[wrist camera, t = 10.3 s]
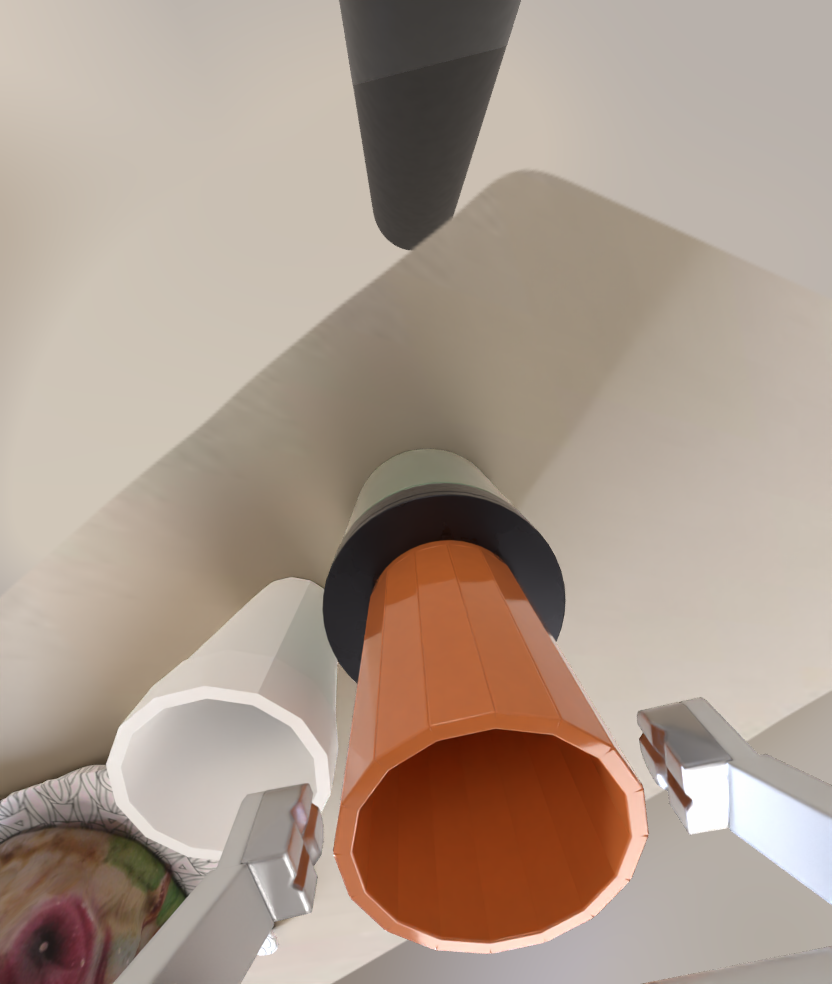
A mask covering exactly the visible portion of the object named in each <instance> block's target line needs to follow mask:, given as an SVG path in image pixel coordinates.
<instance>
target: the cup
mask: <svg viewBox="0 0 832 984" xmlns="http://www.w3.org/2000/svg"><path fill="white" fill-rule="evenodd" d="M648 834H649V831H648V822H647V813H646V804H645V796H644V788H643V786H642V783H641V782H640V780H639V778H638V777H637V775H636V773H635V772H634V770H633V769H632V767H631V765H630V764H629V762H628V760H627V759H626V757H625V755H624V754H623V752H622V750H621V749H620V747H619V745H618V744H617V742H616V740H615V739H614V737H613V735H612V734H611V732H610V730H609V729H608V727H607V725H606V724H605V722H604V720H603V719H602V717H601V716H600V714H599V712H598V711H597V709H596V707H595V706H594V704H593V702H592V701H591V699H590V697H589V696H588V694H587V692H586V691H585V689H584V687H583V686H582V684H581V682H580V681H579V679H578V677H577V676H576V674H575V672H574V671H573V669H572V667H571V666H570V664H569V663H568V661H567V659H566V658H565V656H564V654H563V653H562V651H561V649H560V648H559V646H558V644H557V643H556V641H555V639H554V638H553V636H552V634H551V633H550V631H549V629H548V628H547V626H546V624H545V623H544V621H543V619H542V618H541V616H540V614H539V613H538V611H537V610H536V608H535V606H534V605H533V603H532V601H531V600H530V598H529V596H528V595H527V593H526V591H525V590H524V588H523V587H522V585H521V584H520V582H519V581H518V580H517V578H516V577H515V575H514V573H513V572H512V570H511V569H510V568H509V567H508V565H507V564H506V563H505V562H504V561H503V560H502V559H500V558H499V557H498V556H497V555H495V554H494V553H492V552H491V551H489V550H487V549H485V548H483V547H481V546H478V545H475V544H472V543H468V542H463V541H454V540H444V541H435V542H429V543H426V544H423V545H419V546H417V547H415V548H412V549H410V550H408V551H407V552H405V553H403V554H402V555H400V556H399V557H397V558H396V559H395V560H394V561H392V562H391V563H390V564H389V565H388V566H387V567H386V568H385V570H384V571H383V572H382V574H381V575H380V576H379V578H378V580H377V582H376V584H375V585H374V588H373V591H372V593H371V596H370V601H369V607H368V614H367V620H366V627H365V634H364V641H363V648H362V654H361V661H360V668H359V675H358V682H357V689H356V696H355V703H354V710H353V716H352V723H351V730H350V737H349V744H348V751H347V758H346V765H345V772H344V779H343V785H342V792H341V799H340V806H339V813H338V820H337V827H336V834H335V841H334V848H333V852H334V857H335V860H336V863H337V865H338V868H339V870H340V873H341V876H342V878H343V881H344V884H345V886H346V889H347V892H348V894H349V896H350V898H351V899H352V900H353V901H354V902H355V903H356V904H357V905H358V906H359V907H360V908H361V909H362V910H364V911H365V912H366V913H367V914H368V915H369V916H370V917H371V918H372V919H373V920H374V921H375V922H377V923H378V924H379V925H380V926H381V927H382V928H383V929H384V930H386V931H387V932H390V933H392V934H395V935H397V936H400V937H403V938H405V939H408V940H410V941H413V942H415V943H418V944H420V945H423V946H426V947H428V948H431V949H436V950H440V951H455V952H467V953H481V954H489V953H491V954H493V953H498V952H503V951H508V950H512V949H518V948H523V947H527V946H532V945H537V944H542V943H544V942H548V941H550V940H552V939H554V938H556V937H558V936H560V935H561V934H563V933H565V932H567V931H569V930H571V929H573V928H575V927H577V926H579V925H581V924H583V923H585V922H586V921H589V920H590V919H592V918H593V917H594V916H596V915H597V914H598V913H599V912H600V911H601V910H602V909H603V908H604V907H605V906H606V905H607V904H608V903H609V902H610V901H611V900H612V899H613V898H614V897H615V896H616V895H617V894H618V893H619V892H620V891H621V890H622V889H623V888H624V887H625V886H626V885H627V884H628V883H629V882H630V879H632V877H633V874H634V872H635V869H636V866H637V864H638V861H639V859H640V856H641V854H642V851H643V849H644V846H645V844H646V841H647V838H648Z"/></svg>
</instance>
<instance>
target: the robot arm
mask: <svg viewBox="0 0 832 984" xmlns="http://www.w3.org/2000/svg"><path fill="white" fill-rule="evenodd" d="M637 723H638V725H639V727H640V728H641V730H642V731H643V734H642V735H641V737H640V738H639V741H640V748H641V752H642V755H643V758H644V761H645V764H646V766H647V768H648V770H649V772H650V774H651V775H652V777H653V779H654V780H655V782H656V783H657V785H659V786H661V787H662V788H664V789H665V790H667V791H668V796H669V804H670V806H671V807H672V809H673V810H674V812H675V813H676V815H677V816H678V818H679V820H680V821H681V823H682V824H683V826H684V827H685V829H686V830H687V832H688V834H695V833H701V832H706V831H712V830H718V829H724V828H730V831H732V832H734V833H735V834H736V835H737V836H739V837H740V838H741V839H743V840H744V841H745V842H747V843H748V844H750V845H751V846H752V847H754V848H755V849H756V850H758V851H759V852H760V853H762V854H763V855H764V856H766V857H767V858H768V859H770V860H771V861H773V862H774V863H775V864H777V865H778V866H779V867H781V868H782V869H784V870H785V871H786V872H787V873H789V874H790V875H792V876H793V877H794V878H796V879H797V880H799V881H800V882H801V883H803V884H804V885H805V886H807V887H808V888H809V889H811V890H812V891H813V892H815V893H816V894H817V895H819V896H820V897H821V898H823V899H824V900H826V901H827V902H828V903H830V904H831V905H832V785H830V784H828V783H826V782H824V781H822V780H820V779H818V778H816V777H814V776H812V775H809V774H807V773H805V772H803V771H801V770H799V769H797V768H795V767H793V766H791V765H788V764H786V763H784V762H782V761H780V760H778V759H776V758H774V757H772V756H770V755H768V754H762V755H759V754H758V753H757V752H756V751H755V750H754V749H753V748H752V747H751V746H750V745H749V744H748V743H747V742H746V741H745V740H744V739H743V738H742V737H741V736H740V735H739V734H738V733H737V731H736V730H735V729H734V728H733V727H732V726H731V725H730V724H729V723H728V722H727V721H726V720H725V719H724V718H723V717H722V716H721V715H720V714H719V713H718V712H717V711H716V710H715V709H714V708H713V707H712V706H711V705H710V704H709V703H708V701H707V700H705V699H703V698H701V697H699V698H695V699H690V700H686V701H681V702H679V703H678V702H676V703H671V704H667V705H663V706H658V707H654V708H650V709H645V710H641V711H638V714H637ZM312 798H313V791H312V789H311V787H310V784H309V783H304V784H298V785H293V786H287V787H282V788H277V789H271V790H267V791H262V792H257V793H252V794H247V795H246V797H245V798H244V799H243V800H242V802H241V805H240V807H239V810H238V813H237V815H236V818H235V821H234V823H233V826H232V829H231V831H230V834H229V836H228V839H227V842H226V844H225V847H224V850H223V852H222V855H221V858H220V860H219V863H218V866H217V868H216V870H212V871H209V872H208V874H207V875H206V876H205V877H204V878H203V879H202V881H201V882H200V883H199V884H198V885H197V886H196V888H195V889H194V890H193V891H192V892H191V893H190V894H189V896H188V897H187V898H186V899H185V900H184V901H183V903H182V904H181V905H180V906H179V907H178V908H177V910H176V911H175V912H174V913H173V914H172V915H171V917H170V918H169V919H168V920H167V921H166V922H165V923H164V925H163V926H162V927H161V928H160V929H159V930H158V932H157V933H156V934H155V935H154V936H153V937H152V939H151V940H150V941H149V942H148V943H147V944H146V946H145V947H144V948H143V949H142V950H141V951H140V952H139V954H138V955H137V956H136V957H135V958H134V959H133V961H132V962H131V963H130V964H129V965H128V966H127V968H126V969H125V970H124V971H123V972H122V973H121V974H120V976H119V977H118V978H117V979H116V980H115V981H114V983H113V984H240V983H241V982H242V980H243V978H244V976H245V975H246V973H247V971H248V970H249V968H250V966H251V964H252V963H253V961H254V959H255V957H256V956H257V954H258V952H259V950H260V949H261V947H262V945H263V944H264V942H265V940H266V938H267V937H268V935H269V933H270V931H271V930H272V928H273V926H274V922H275V921H279V920H284V919H288V918H292V917H296V916H300V915H304V914H308V913H312V908H313V902H314V896H315V890H316V884H317V878H318V877H317V874H316V871H315V869H314V865H315V864H316V862H317V861H318V859H319V858H320V856H321V854H322V848H323V820H322V815H321V812H320V809H319V807H318V806H316V805H314V804H313V803H312ZM643 984H832V946H829V947H824V948H819V949H814V950H809V951H804V952H799V953H794V954H789V955H784V956H779V957H774V958H769V959H764V960H759V961H754V962H749V963H744V964H739V965H734V966H729V967H724V968H719V969H714V970H709V971H704V972H699V973H693V974H688V975H684V976H678V977H673V978H668V979H663V980H658V981H653V982H648V983H643Z"/></svg>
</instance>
